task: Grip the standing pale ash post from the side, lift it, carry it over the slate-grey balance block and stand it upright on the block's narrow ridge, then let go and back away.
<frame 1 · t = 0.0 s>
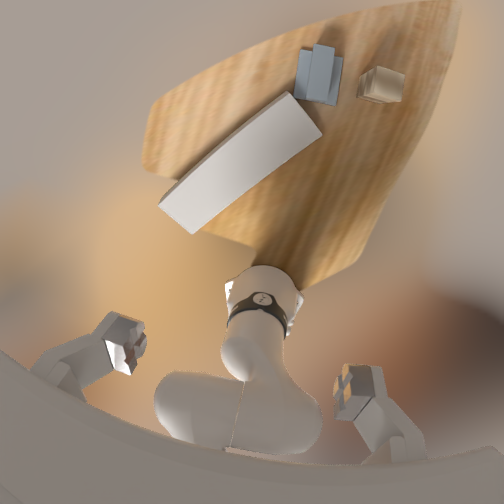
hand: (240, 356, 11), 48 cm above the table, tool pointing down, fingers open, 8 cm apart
ridge block: (318, 77, 44), on the table
ash post: (369, 90, 44), on the table
decorative molding: (236, 164, 55), on the table
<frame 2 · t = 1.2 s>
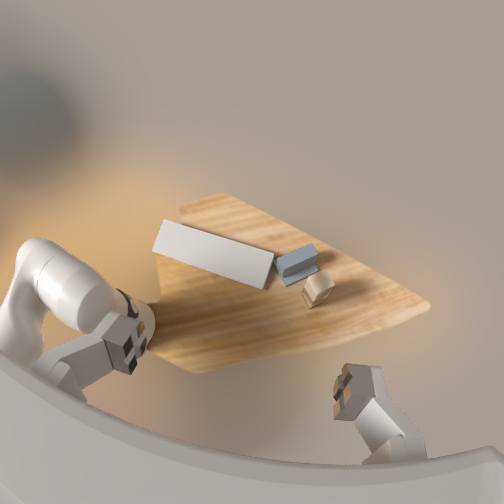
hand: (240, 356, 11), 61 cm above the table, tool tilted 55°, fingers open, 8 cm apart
ridge block: (295, 266, 78), on the table
ash post: (312, 298, 74), on the table
decorative molding: (212, 256, 82), on the table
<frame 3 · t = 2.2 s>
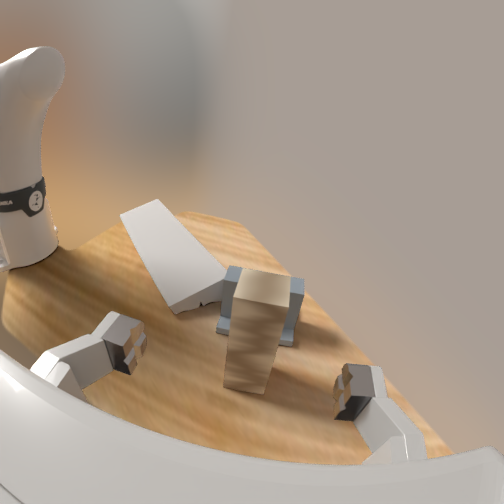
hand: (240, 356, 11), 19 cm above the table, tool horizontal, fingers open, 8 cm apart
ridge block: (257, 320, 39), on the table
ash post: (246, 375, 31), on the table
decorative molding: (163, 255, 53), on the table
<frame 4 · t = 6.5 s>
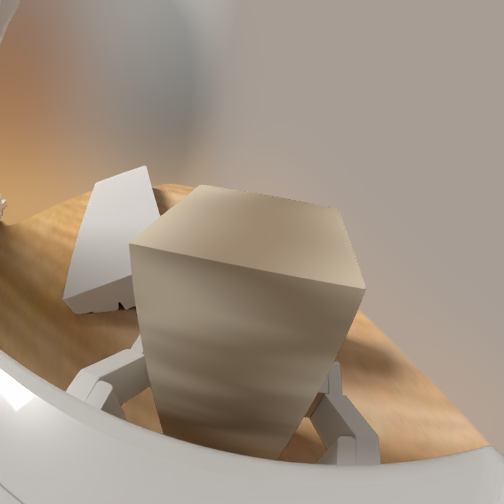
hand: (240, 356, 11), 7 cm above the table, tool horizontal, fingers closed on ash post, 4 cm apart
ash post: (224, 443, 13), on the table, touching gripper
decorative molding: (122, 231, 35), on the table
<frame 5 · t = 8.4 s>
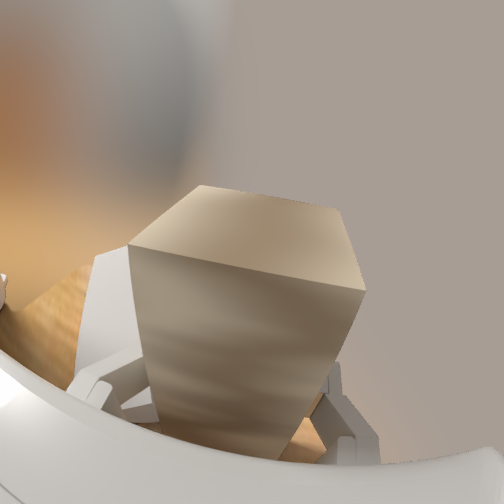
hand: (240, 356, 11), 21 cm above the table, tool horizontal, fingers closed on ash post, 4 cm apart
ash post: (224, 444, 13), point 14 cm above the table, touching gripper
decorative molding: (118, 325, 38), on the table
when the fingers open (15 cm above the table, at t = 10.6 s): ash post stays where it is, resting on ridge block.
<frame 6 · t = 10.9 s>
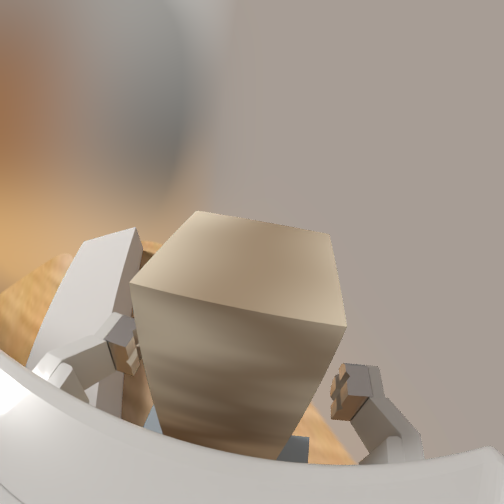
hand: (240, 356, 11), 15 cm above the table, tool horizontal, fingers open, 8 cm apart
ridge block: (219, 476, 17), on the table
ash post: (223, 449, 13), point 7 cm above the table, touching ridge block
decorative molding: (91, 323, 30), on the table
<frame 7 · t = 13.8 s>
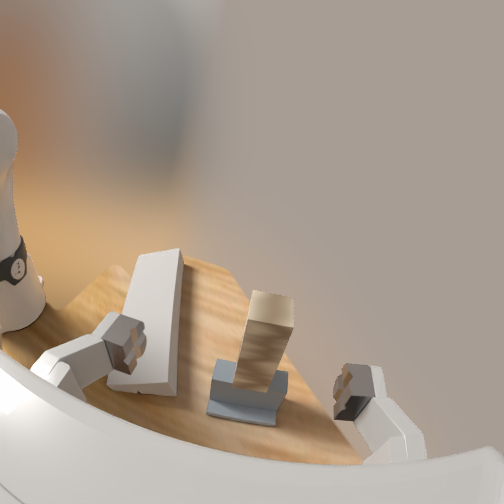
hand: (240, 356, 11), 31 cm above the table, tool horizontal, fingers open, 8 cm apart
ridge block: (243, 399, 39), on the table
ash post: (251, 376, 36), point 7 cm above the table, touching ridge block
decorative molding: (152, 318, 51), on the table
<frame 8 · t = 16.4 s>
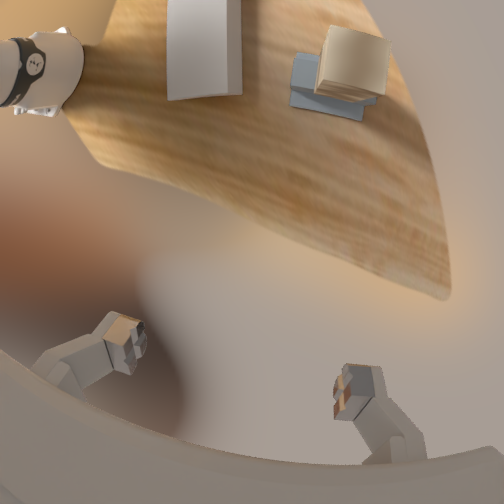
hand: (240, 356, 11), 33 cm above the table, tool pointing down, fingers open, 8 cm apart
ridge block: (329, 86, 33), on the table
ash post: (335, 80, 27), point 7 cm above the table, touching ridge block
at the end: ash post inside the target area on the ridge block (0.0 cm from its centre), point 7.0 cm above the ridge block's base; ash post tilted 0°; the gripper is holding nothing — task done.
